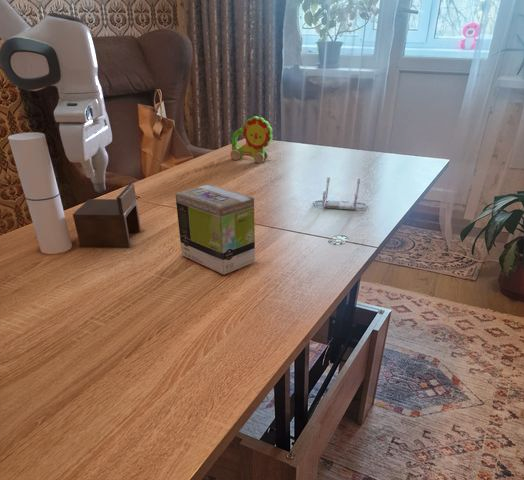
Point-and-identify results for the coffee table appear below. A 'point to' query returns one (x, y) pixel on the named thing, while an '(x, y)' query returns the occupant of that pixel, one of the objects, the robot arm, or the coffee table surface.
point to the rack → (108, 220)
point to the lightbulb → (99, 169)
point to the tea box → (216, 227)
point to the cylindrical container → (41, 191)
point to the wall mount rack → (340, 204)
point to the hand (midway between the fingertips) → (96, 172)
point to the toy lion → (253, 139)
